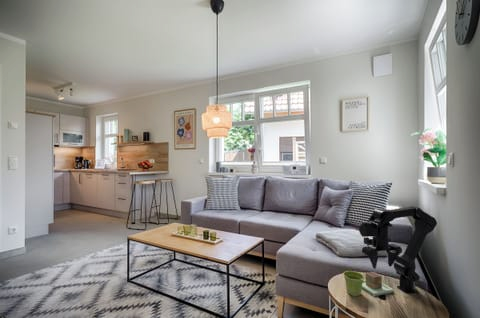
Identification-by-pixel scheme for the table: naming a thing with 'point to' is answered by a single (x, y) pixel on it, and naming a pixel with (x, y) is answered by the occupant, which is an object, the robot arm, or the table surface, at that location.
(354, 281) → the plant pot
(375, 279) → the walnut block
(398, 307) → the table surface
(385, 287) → the green tray
